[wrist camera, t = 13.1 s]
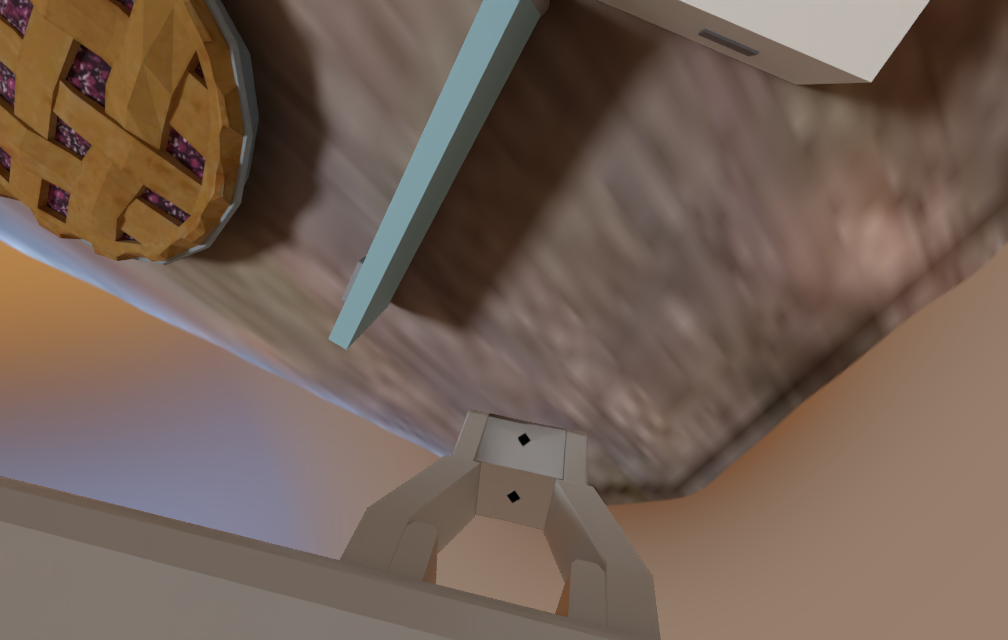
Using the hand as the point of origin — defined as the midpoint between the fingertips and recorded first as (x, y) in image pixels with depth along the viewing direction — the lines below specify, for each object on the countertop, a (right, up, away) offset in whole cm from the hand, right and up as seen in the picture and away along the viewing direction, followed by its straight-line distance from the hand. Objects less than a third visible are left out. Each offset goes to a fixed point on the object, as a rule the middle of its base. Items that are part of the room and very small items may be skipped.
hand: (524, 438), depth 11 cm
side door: (-4, +12, +15) cm, 19 cm away
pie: (-24, +18, +16) cm, 34 cm away
